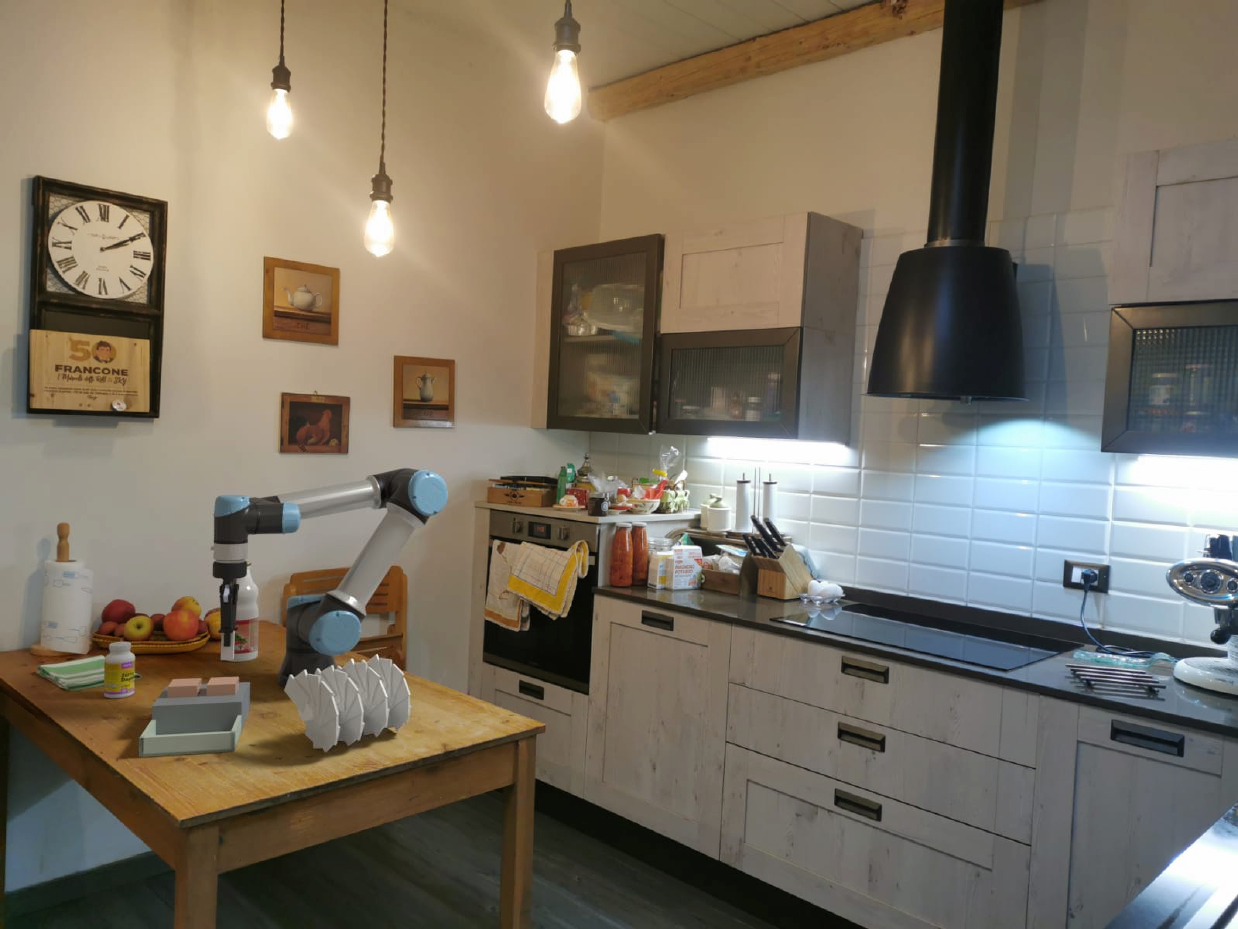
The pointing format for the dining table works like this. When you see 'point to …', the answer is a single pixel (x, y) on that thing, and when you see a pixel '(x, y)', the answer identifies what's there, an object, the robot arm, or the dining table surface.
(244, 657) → the fruit juice
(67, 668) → the dish towel
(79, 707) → the dining table surface
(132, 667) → the supplement bottle
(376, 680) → the spiral staircase
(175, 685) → the terracotta tile
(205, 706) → the slate step
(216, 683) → the terracotta tile
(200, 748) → the sage tray
